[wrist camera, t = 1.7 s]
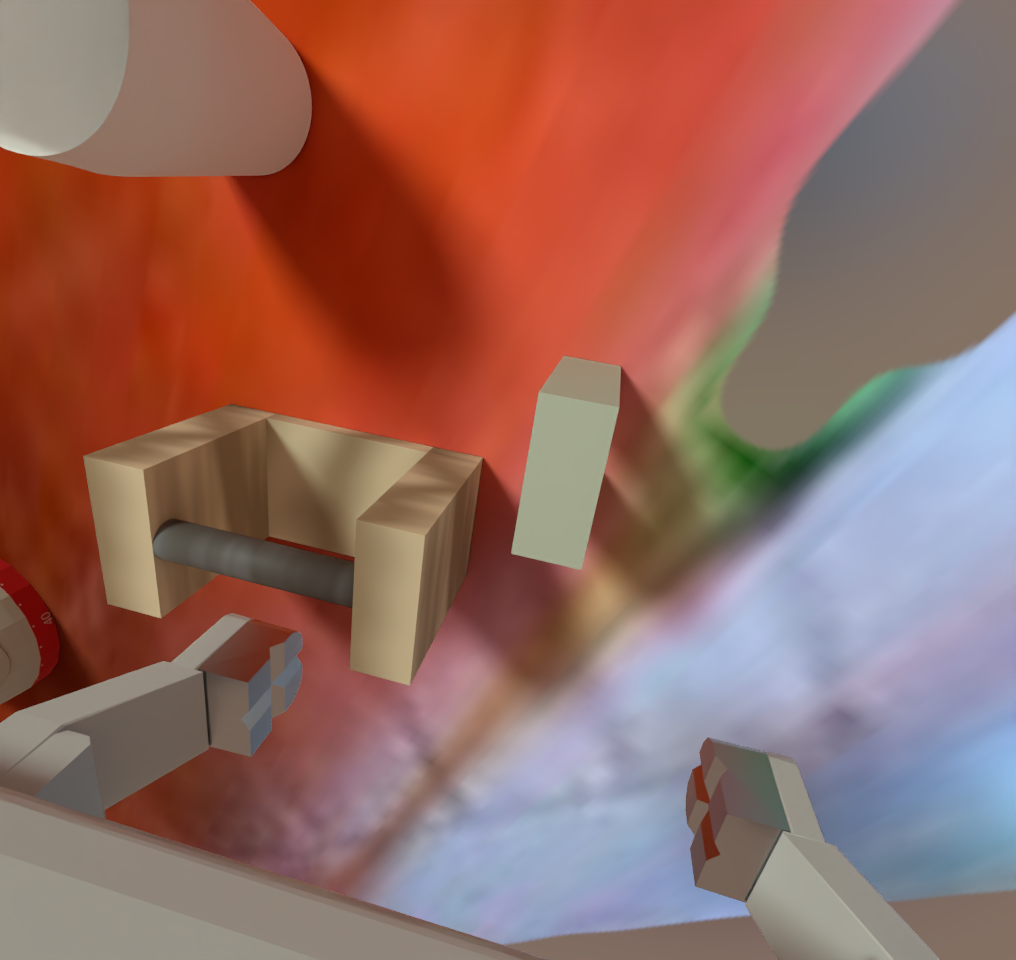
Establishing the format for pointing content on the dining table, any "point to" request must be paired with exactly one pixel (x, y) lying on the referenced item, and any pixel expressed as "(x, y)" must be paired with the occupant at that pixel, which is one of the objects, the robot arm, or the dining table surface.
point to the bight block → (567, 461)
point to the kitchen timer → (23, 635)
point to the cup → (151, 87)
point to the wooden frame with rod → (290, 523)
